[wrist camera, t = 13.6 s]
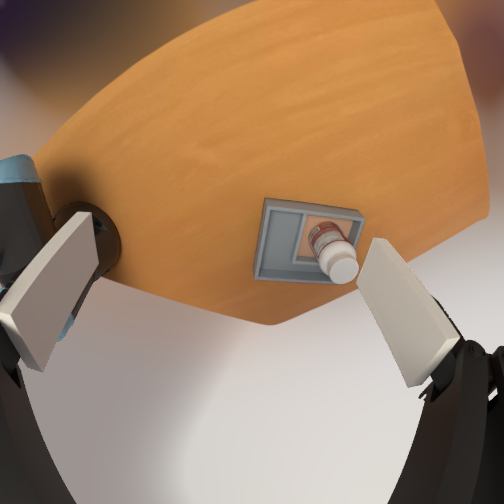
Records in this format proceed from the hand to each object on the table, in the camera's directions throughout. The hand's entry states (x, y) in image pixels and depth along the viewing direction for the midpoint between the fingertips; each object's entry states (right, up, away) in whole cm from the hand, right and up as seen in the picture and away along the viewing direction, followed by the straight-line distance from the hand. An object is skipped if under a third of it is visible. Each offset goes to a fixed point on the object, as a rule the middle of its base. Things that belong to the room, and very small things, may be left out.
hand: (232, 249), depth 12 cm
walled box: (+10, +2, +38) cm, 40 cm away
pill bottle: (+14, +3, +37) cm, 39 cm away
